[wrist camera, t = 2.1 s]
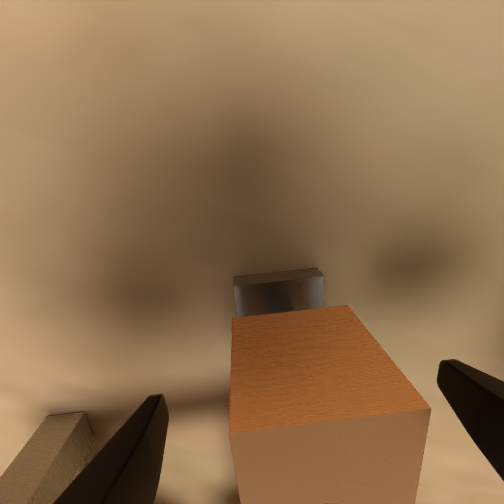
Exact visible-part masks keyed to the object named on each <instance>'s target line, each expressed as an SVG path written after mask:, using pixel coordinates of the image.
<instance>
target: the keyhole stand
mask: <svg viewBox="0 0 504 504" xmlns="http://www.w3.org/2000/svg"><path fill="white" fill-rule="evenodd" d="M93 440H94V435H93V433H92V430H91V428H90V425H89V423H88V420H87V417H86V415H85V412H78V413H70V414H61V415H53V416H47V417H46V418H45V420H44V421H43V422H42V424H41V425H40V426H39V427H38V429H37V430H36V431H35V433H34V434H33V435H32V437H31V438H30V439H29V441H28V442H27V443H26V444H25V446H24V447H23V448H22V450H21V451H20V452H19V454H18V455H17V456H16V458H15V459H14V460H13V461H12V463H11V464H10V465H9V467H8V468H7V469H6V471H5V472H4V473H3V475H2V476H1V477H0V504H52V503H53V502H54V501H55V500H56V499H57V498H58V497H59V496H60V494H61V493H62V492H63V491H64V490H65V489H66V488H67V487H68V486H69V484H70V483H71V482H72V480H73V478H74V476H75V474H76V472H77V470H78V469H79V467H80V465H81V463H82V461H83V459H84V457H85V455H86V453H87V451H88V450H89V448H90V446H91V444H92V442H93Z"/></svg>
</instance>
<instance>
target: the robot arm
mask: <svg viewBox="0 0 504 504" xmlns="http://www.w3.org/2000/svg"><path fill="white" fill-rule="evenodd" d="M437 384H438V387H439V389H440V390H441V392H442V393H443V395H444V396H445V398H446V400H447V401H448V403H449V404H450V406H451V407H452V409H453V410H454V412H455V414H456V415H457V417H458V418H459V420H460V421H461V423H462V425H463V426H464V428H465V429H466V431H467V432H468V434H469V435H470V437H471V438H472V440H473V441H474V442H475V444H476V445H477V446H478V448H479V449H480V450H481V452H482V453H483V454H484V456H485V457H486V458H487V460H488V461H489V462H490V464H491V465H492V466H493V468H494V469H495V470H496V472H497V473H498V474H499V476H500V477H501V478H502V480H503V481H504V382H503V381H501V380H499V379H497V378H495V377H492V376H490V375H488V374H486V373H484V372H482V371H480V370H477V369H475V368H473V367H471V366H469V365H467V364H464V363H462V362H460V361H458V360H455V359H450V360H443V361H441V362H440V364H439V370H438V376H437ZM168 422H169V413H168V409H167V405H166V401H165V398H164V395H163V394H156V395H150V396H149V397H148V398H147V399H146V400H145V401H144V402H143V403H142V404H141V405H140V407H139V408H138V409H137V410H136V411H135V412H134V413H133V414H132V415H131V417H130V418H129V419H128V420H127V421H126V422H125V423H124V424H123V425H122V427H121V428H120V429H119V430H118V431H117V432H116V433H115V434H114V435H113V437H112V438H111V439H110V440H109V441H108V442H107V443H106V444H105V445H104V447H103V448H102V449H101V450H100V451H99V452H98V453H97V454H96V455H95V457H94V458H93V459H92V460H91V461H90V462H89V463H88V464H87V465H86V467H85V468H84V469H83V470H82V471H81V472H80V473H79V474H78V475H77V477H76V478H75V479H74V480H73V481H72V482H71V483H70V484H69V486H68V487H67V488H66V489H65V490H64V491H63V492H62V493H61V494H60V496H59V497H58V498H57V499H56V500H55V501H54V502H53V503H52V504H154V500H155V496H156V492H157V488H158V484H159V479H160V473H161V468H162V461H163V454H164V448H165V441H166V435H167V428H168Z"/></svg>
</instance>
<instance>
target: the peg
mask: <svg viewBox="0 0 504 504" xmlns="http://www.w3.org/2000/svg"><path fill="white" fill-rule="evenodd" d="M233 289H234V297H235V305H236V313H237V318H232V345H231V381H230V417H229V436H230V442H231V449H232V455H233V461H234V467H235V473H236V479H237V485H238V491H239V497H240V503H241V504H415V500H416V494H417V488H418V483H419V477H420V471H421V465H422V460H423V454H424V448H425V442H426V437H427V431H428V425H429V419H430V414H431V407H430V406H429V405H428V404H427V402H426V401H425V400H424V399H423V398H422V396H421V395H420V394H419V393H418V391H417V390H416V389H415V388H414V386H413V385H412V384H411V383H410V382H409V380H408V379H407V378H406V377H405V375H404V374H403V373H402V372H401V370H400V369H399V368H398V367H397V366H396V364H395V363H394V362H393V361H392V359H391V358H390V357H389V356H388V355H387V353H386V352H385V351H384V350H383V348H382V347H381V346H380V345H379V343H378V342H377V341H376V340H375V339H374V337H373V336H372V335H371V334H370V332H369V331H368V330H367V329H366V327H365V326H364V325H363V324H362V323H361V321H360V320H359V319H358V318H357V316H356V315H355V314H354V313H353V311H352V310H351V309H350V308H349V307H348V305H345V306H336V307H327V308H324V276H323V275H322V273H321V272H320V271H319V270H318V268H311V269H302V270H292V271H283V272H274V273H265V274H255V275H246V276H237V277H233Z"/></svg>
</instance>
